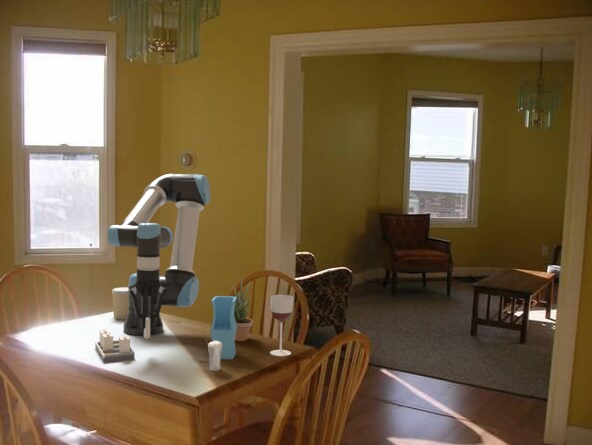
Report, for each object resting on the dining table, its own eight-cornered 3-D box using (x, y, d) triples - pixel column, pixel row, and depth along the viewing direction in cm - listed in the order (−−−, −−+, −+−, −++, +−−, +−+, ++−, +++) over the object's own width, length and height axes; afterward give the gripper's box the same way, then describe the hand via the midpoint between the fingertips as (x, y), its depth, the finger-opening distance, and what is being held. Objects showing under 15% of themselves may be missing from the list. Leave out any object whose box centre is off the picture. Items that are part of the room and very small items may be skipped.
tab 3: (127, 349, 211) (127, 334, 211) (130, 352, 208) (130, 337, 208) (118, 350, 210) (118, 335, 210) (120, 353, 207) (120, 338, 206)
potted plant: (257, 340, 235) (258, 275, 233) (235, 343, 230) (237, 277, 228) (243, 334, 243) (244, 271, 241) (221, 337, 238) (223, 273, 236)
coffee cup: (139, 317, 266) (139, 289, 265) (120, 320, 258) (120, 292, 257) (125, 313, 272) (126, 286, 271) (107, 316, 264) (107, 289, 263)
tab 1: (108, 343, 219) (108, 328, 218) (110, 346, 215) (110, 331, 215) (99, 344, 217) (99, 329, 217) (101, 346, 214) (101, 331, 214)
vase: (209, 358, 211) (211, 300, 209) (213, 351, 219) (215, 295, 217) (232, 359, 211) (234, 301, 209) (236, 352, 218) (237, 296, 217)
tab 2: (111, 347, 214) (111, 332, 214) (113, 350, 211) (113, 334, 210) (102, 347, 213) (102, 332, 212) (103, 351, 209) (104, 335, 209)
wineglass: (295, 350, 223) (296, 296, 221) (286, 357, 215) (288, 300, 213) (274, 348, 225) (276, 293, 224) (265, 354, 217) (267, 298, 216)
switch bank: (124, 345, 223) (124, 339, 222) (134, 359, 208) (134, 352, 207) (95, 348, 218) (95, 342, 218) (103, 362, 203) (103, 355, 203)
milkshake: (205, 367, 202) (206, 336, 201) (222, 367, 202) (222, 337, 201) (204, 371, 197) (205, 340, 196) (221, 371, 198) (222, 340, 197)
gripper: (164, 266, 217) (163, 333, 218) (126, 267, 211) (125, 336, 212) (170, 269, 210) (168, 338, 211) (130, 271, 204) (129, 341, 206)
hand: (146, 337), depth 212 cm, fingers closed
